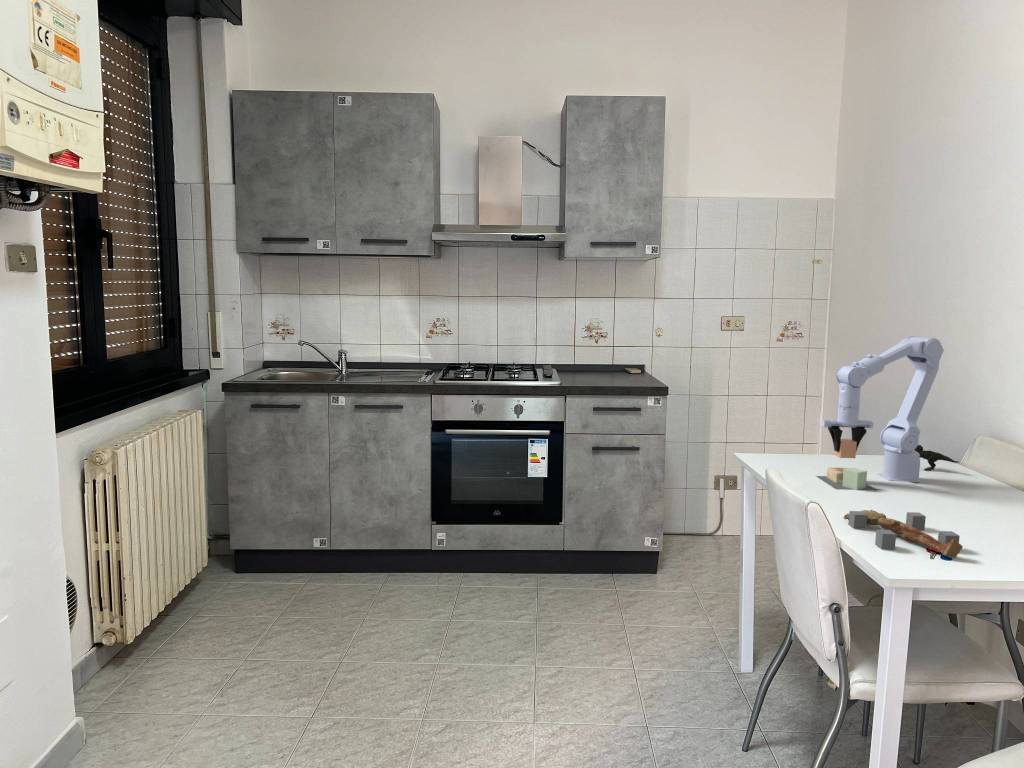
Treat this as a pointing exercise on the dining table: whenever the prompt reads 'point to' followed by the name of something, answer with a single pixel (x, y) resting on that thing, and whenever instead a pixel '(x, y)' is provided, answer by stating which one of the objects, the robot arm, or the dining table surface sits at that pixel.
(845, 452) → the terracotta cube
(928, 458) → the toy
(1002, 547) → the dining table surface
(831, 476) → the oak slab
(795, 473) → the dining table surface
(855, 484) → the sage cube
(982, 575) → the dining table surface
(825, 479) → the mat
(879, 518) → the figurine
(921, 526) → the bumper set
